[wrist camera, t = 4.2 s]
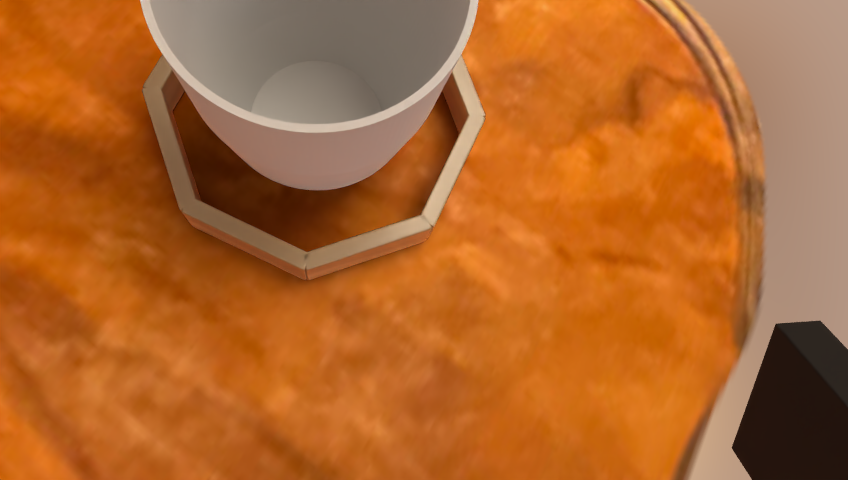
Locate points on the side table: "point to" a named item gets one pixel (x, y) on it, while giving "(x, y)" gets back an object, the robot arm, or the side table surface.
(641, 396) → the side table surface
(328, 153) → the cup
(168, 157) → the holder ring
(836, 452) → the robot arm
